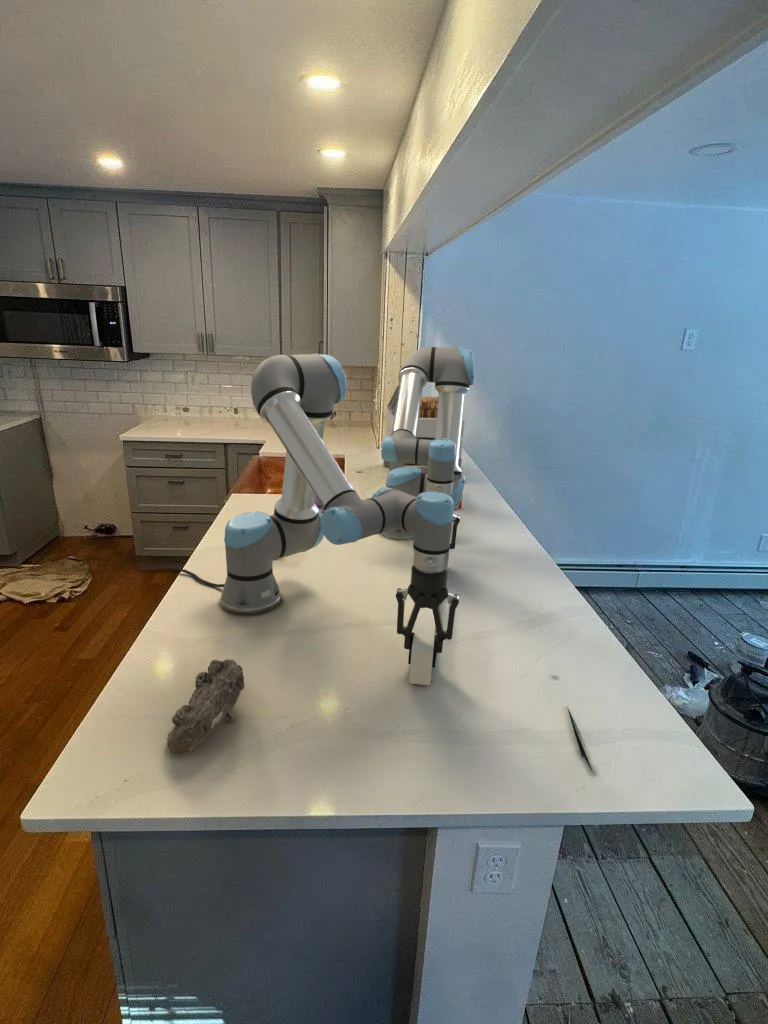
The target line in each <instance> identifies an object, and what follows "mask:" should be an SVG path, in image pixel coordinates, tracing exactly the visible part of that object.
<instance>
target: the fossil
mask: <svg viewBox="0 0 768 1024" xmlns="http://www.w3.org/2000/svg"><path fill="white" fill-rule="evenodd" d="M243 670H244V669H243V667H242V665H240V664H237V662H236V661H235V660H234V659H232V658H231V659H227V658H226V659H224V660H223V661H222V660H217V659H212V660H211V661H210V663H209V665H208V666H207V671H201V672H199V673H198V674H197V675H196V676H195V680H194V684H195V685H194V687H195V689H194V690H193V693H192V694H191V697H190V698H189V700H188V704H184V705H182V706H181V707H180V709H177V710H176V711H175V713H174V715H173V716H172V718H171V723H172V724H173V727H172V730H171V731H170V732H168V734H167V738H166V741H167V742H166V745H167V749H168V750H169V751H173V752H174V753H176V754H178V753H182V752H188V751H189V752H192V751H193V750H195V748H196V747H197V746H199V744H200V743H201V742H203V741H204V740H205V739H206V738H207V737H208V736H209V735H210V734H211V733H212V732H214V730H215V729H217V727H218V726H219V724H220V722H221V721H222V720H223V719H224V718H225V716H226V717H227V719H229V720H233V717H232V715H230V714H229V710H230V709H231V708H234V706H235V704H236V703H237V702H238V699H239V697H240V695H241V693H242V691H243V690H245V689H244V688H245V675H244V671H243Z"/></svg>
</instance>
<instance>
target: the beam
mask: <svg viewBox="0 0 768 1024" xmlns="http://www.w3.org/2000/svg"><path fill="white" fill-rule="evenodd" d="M413 632H414V638H413V644H412V651H411V664H410V666H409V680H408V684H414V685H422V686H429V687H430V686H431V684H432V683H431V681H432V673H433V672H432V670H433V667H432V661H433V649H434V638H435V635H436V626H435V620H434V615H433V611H432V609H429V608H420V611H419V613H418V616H417V619H416V621H415V624H414V631H413Z"/></svg>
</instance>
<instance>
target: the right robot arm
mask: <svg viewBox="0 0 768 1024" xmlns="http://www.w3.org/2000/svg"><path fill="white" fill-rule="evenodd" d="M474 360H475V359H474V353H473V351H472V350H471V349H469V348H461V347H445V346H444V347H443V346H423V347H420V348H419V349H416V350H415V351H413V352H412V353H410V355H408V357H407V358H405V360H404V361H403V363H402V365H401V367H400V369H399V372H398V376H397V379H398V383H399V385H400V388H399V394H398V399H397V405H396V410H395V416H394V422H393V427H392V433H391V436H389V437H386V436H384V437H383V438H382V442H381V452H380V453H381V459H382V460H383V462H384V461H387V462H394V463H410V464H421V465H428V466H427V472H426V473H425V472H422V469H421V468H420V467H419V466H418V467H417V466H404V467H400V468H396V469H393V470H391V471H390V470H389V471H388V473H387V475H386V482H385V487H388V488H392V489H397V490H400V491H402V492H404V493H407V494H409V495H412V496H415V497H417V496H418V495H419V494H421V493H423V492H438V493H444V494H447V495H449V496H450V497H451V498H452V500H453V510H456V509H459V508H458V507H459V505H460V501H461V497H462V498H463V495H462V492H463V491H464V486H465V482H466V477H465V475H463V474H462V472H463V470H462V468H461V469H460V468H459V466H458V458H459V447H460V439H461V438H460V436H461V424H462V419H463V414H464V413H463V412H464V402H465V401H464V400H465V395H466V394H467V393H468V392H469V391H470V386H474V384H475V361H474ZM427 383H434V389H435V391H436V392H437V393H438V396H437V397H438V408H437V420H436V432H435V440H424V439H415V438H416V431H417V424H418V417H419V411H420V404H421V397H423V391H424V390H423V389H424V387H426V385H427ZM461 475H463V476H461ZM463 493H464V492H463ZM453 516H454V519H453V523H452V531H451V539H450V550H455V549H456V541H457V531H458V526H459V524H460V522H461V516H460V515H455V514H453ZM379 535H381V536H382V537H385V538H387V539H389V540H395V541H410V540H414V535H413V534H411V533H408V532H406V531H403V530H401V529H393V530H390V531H386V532H383V533H380V534H379Z"/></svg>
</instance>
